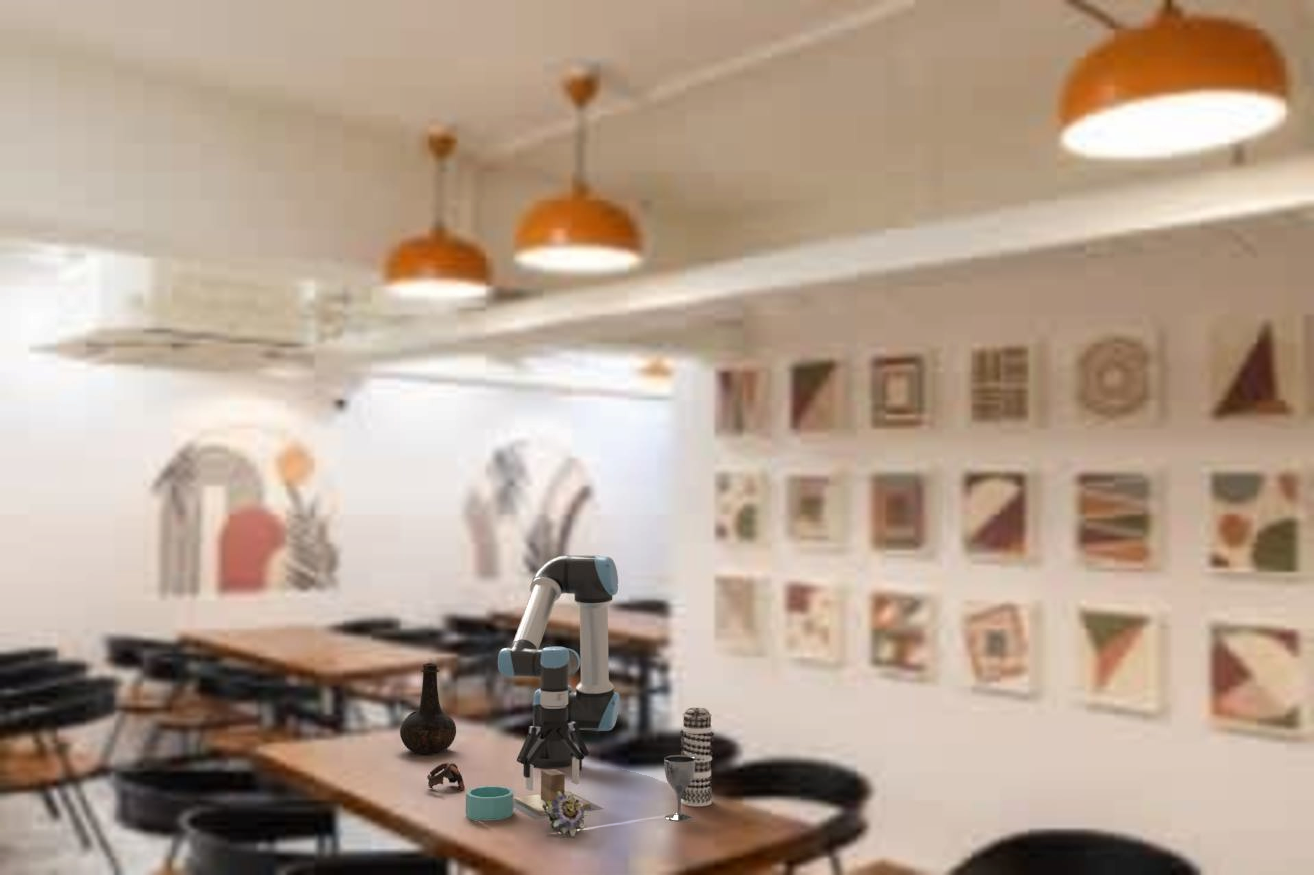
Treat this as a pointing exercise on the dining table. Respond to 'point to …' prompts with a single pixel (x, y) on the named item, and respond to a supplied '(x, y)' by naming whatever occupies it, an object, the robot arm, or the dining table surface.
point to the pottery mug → (445, 775)
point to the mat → (536, 816)
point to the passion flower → (566, 813)
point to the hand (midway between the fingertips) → (552, 786)
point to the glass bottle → (428, 720)
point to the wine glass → (679, 780)
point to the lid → (548, 792)
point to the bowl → (489, 803)
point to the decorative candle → (698, 755)
